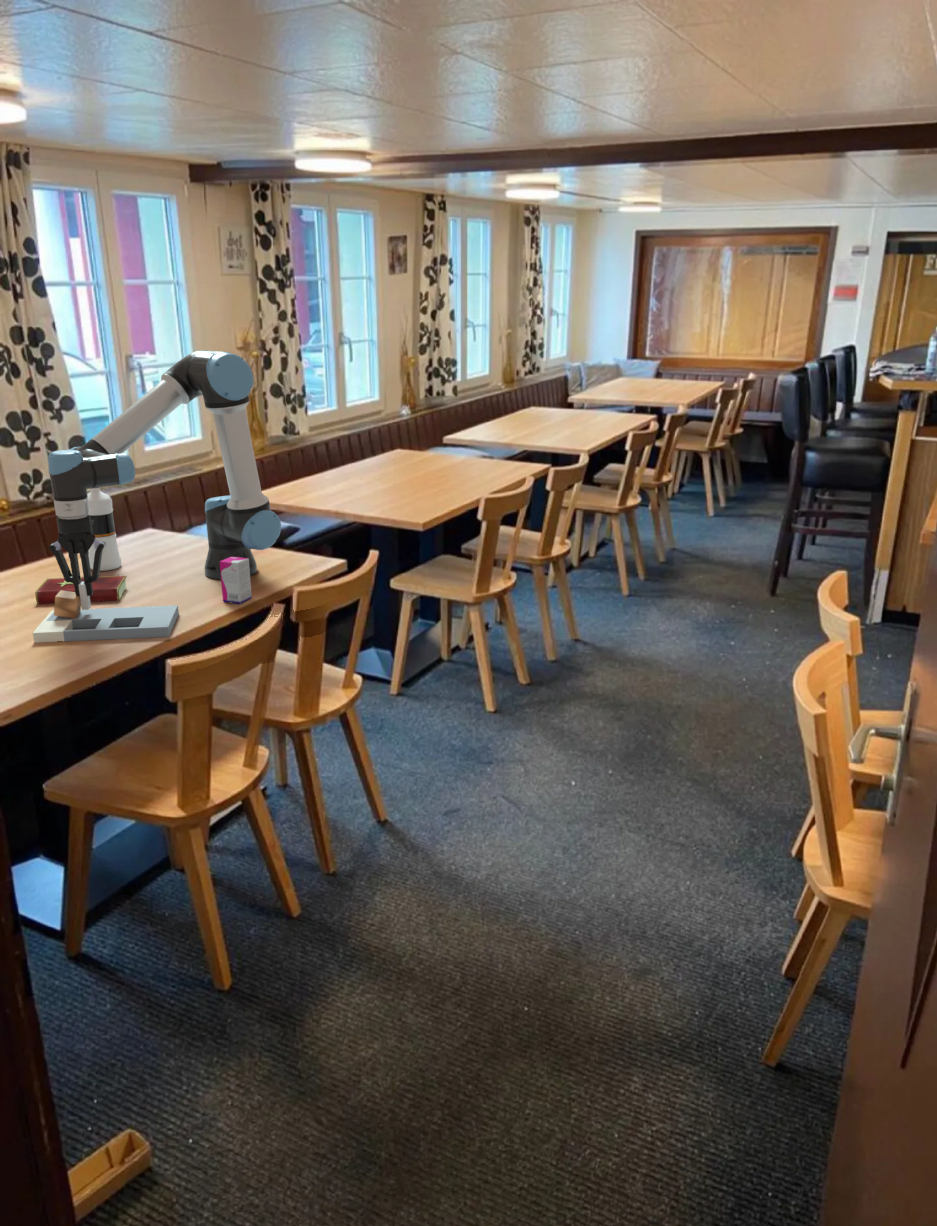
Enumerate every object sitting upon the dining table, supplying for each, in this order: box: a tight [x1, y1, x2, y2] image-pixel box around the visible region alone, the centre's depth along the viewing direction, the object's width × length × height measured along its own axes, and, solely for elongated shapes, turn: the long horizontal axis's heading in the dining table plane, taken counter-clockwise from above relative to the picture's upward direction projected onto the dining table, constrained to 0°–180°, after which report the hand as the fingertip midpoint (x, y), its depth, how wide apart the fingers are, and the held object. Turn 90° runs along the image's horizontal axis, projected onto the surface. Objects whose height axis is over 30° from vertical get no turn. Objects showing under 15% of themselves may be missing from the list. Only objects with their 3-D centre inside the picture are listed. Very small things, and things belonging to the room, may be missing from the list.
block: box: [53, 590, 82, 618], centre depth 217 cm, size 5×5×5 cm
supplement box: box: [220, 557, 253, 605], centre depth 236 cm, size 6×6×12 cm
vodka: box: [87, 487, 123, 572], centre depth 260 cm, size 9×9×30 cm
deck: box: [32, 604, 180, 644], centre depth 217 cm, size 31×16×2 cm, turn 99°
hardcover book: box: [34, 575, 127, 605], centre depth 240 cm, size 12×21×4 cm, turn 100°
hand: (86, 607), depth 219 cm, fingers closed
